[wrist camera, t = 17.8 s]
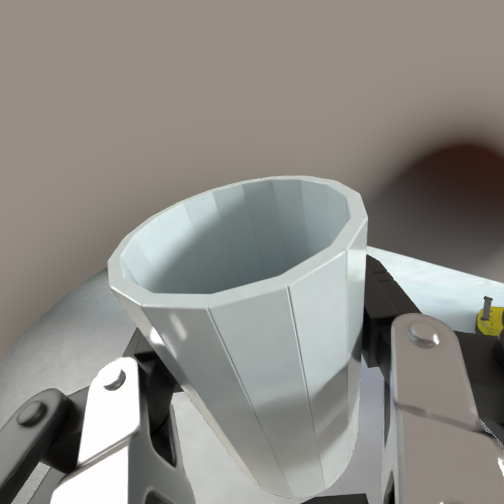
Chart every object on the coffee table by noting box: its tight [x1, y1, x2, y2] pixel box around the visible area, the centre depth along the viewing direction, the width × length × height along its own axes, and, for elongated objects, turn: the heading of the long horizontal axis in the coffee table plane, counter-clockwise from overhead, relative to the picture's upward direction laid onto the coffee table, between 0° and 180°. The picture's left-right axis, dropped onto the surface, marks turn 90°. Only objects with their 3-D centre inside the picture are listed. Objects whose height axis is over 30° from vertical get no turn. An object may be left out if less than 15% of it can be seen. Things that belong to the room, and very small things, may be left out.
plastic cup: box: [108, 176, 368, 499], centre depth 8 cm, size 6×6×10 cm
